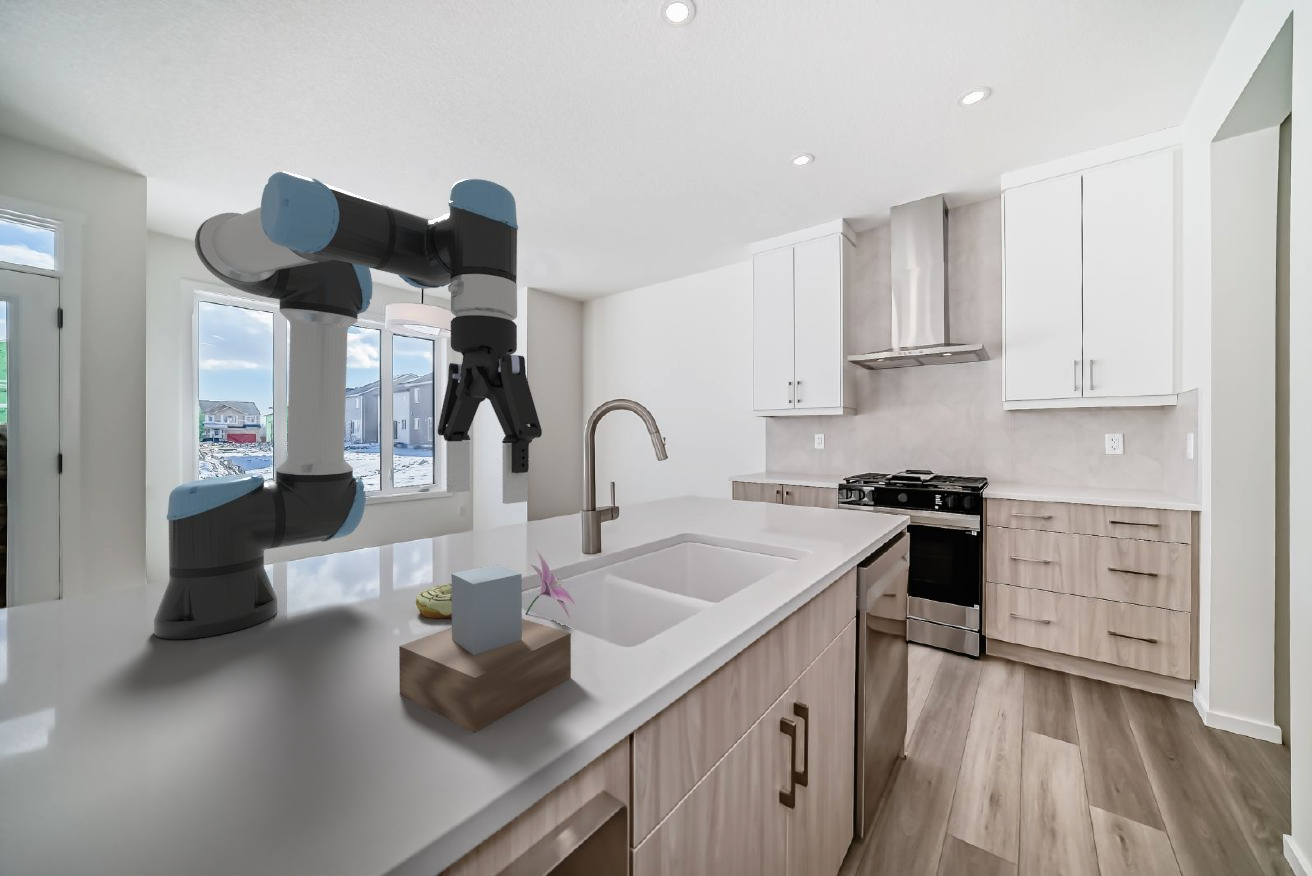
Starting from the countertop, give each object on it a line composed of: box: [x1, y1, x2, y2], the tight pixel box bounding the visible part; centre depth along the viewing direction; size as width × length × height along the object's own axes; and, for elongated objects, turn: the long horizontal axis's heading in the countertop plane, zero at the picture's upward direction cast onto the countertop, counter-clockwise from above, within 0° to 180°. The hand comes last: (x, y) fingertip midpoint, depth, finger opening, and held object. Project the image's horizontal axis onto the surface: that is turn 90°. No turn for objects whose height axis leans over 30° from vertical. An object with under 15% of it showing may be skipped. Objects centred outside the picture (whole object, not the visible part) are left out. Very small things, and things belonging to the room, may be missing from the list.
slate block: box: [451, 564, 523, 655], centre depth 62 cm, size 6×6×8 cm
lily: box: [525, 549, 576, 619], centre depth 87 cm, size 12×12×10 cm
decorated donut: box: [415, 583, 452, 619], centre depth 88 cm, size 10×11×4 cm
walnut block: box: [398, 618, 572, 734], centre depth 62 cm, size 14×14×6 cm
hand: (484, 496), depth 62 cm, fingers open, 13 cm apart
